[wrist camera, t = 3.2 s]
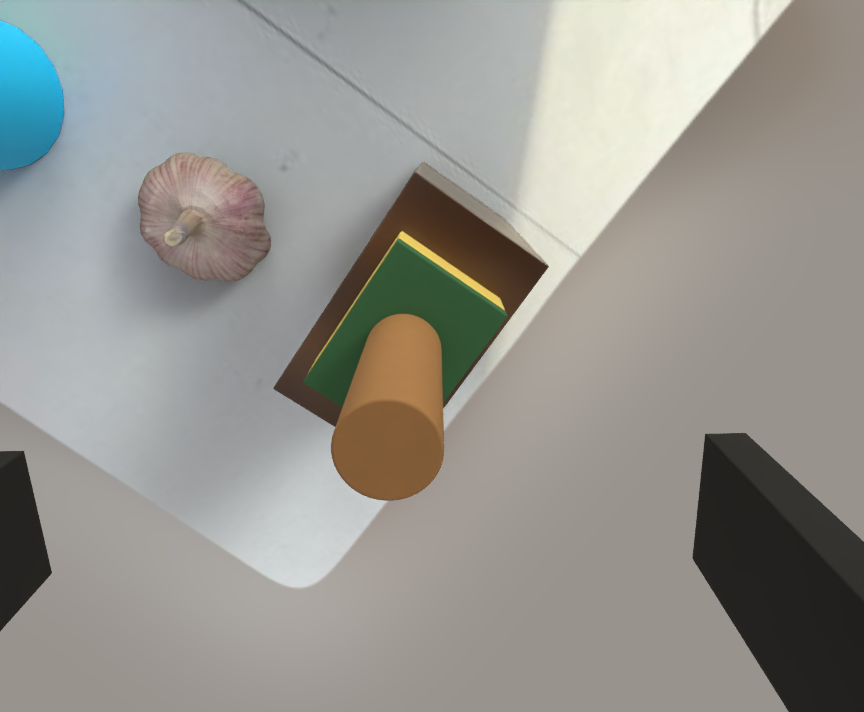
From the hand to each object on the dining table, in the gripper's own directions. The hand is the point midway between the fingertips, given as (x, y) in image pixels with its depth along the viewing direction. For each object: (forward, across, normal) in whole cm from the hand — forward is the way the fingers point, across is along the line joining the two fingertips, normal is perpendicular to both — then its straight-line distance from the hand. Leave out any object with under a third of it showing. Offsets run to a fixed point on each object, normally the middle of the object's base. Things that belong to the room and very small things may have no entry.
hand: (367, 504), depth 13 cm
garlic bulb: (+29, -12, +3) cm, 32 cm away
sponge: (+13, 0, 0) cm, 13 cm away
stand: (+29, 0, 0) cm, 29 cm away
